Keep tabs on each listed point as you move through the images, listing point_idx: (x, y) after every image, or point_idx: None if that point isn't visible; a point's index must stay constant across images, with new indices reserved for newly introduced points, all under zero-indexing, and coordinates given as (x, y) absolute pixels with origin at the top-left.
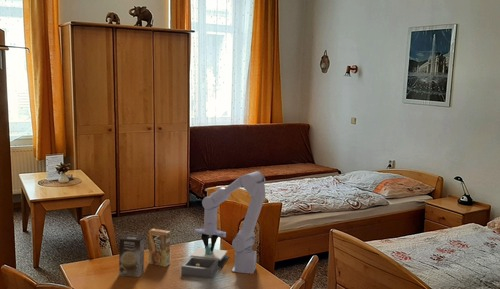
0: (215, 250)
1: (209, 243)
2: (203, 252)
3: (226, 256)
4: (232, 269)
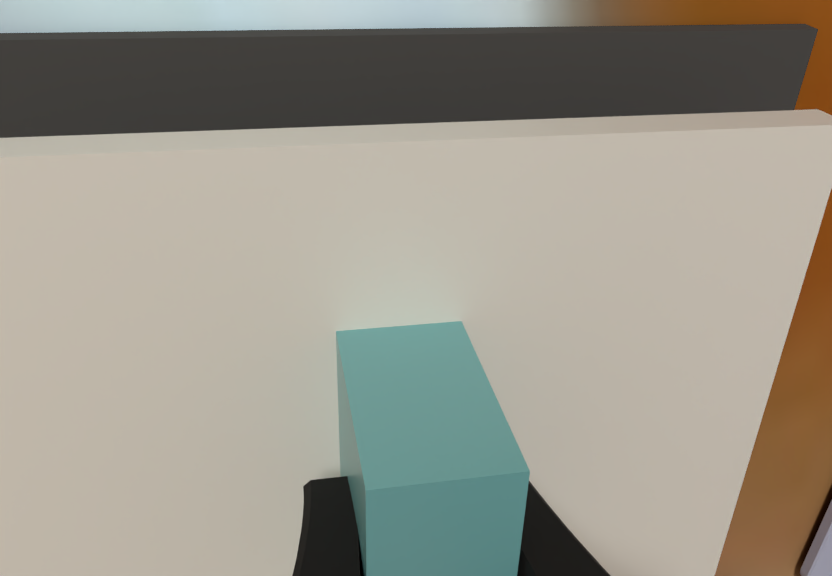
0: (511, 241)
1: (369, 493)
2: (241, 501)
3: (738, 87)
4: (818, 562)
